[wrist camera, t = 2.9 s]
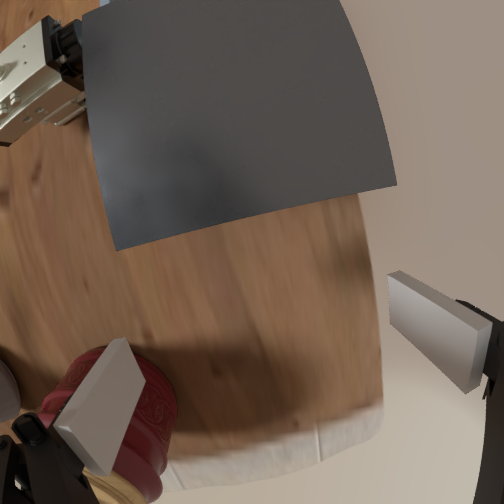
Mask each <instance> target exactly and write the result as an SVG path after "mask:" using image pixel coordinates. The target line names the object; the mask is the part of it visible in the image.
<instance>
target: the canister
mask: <svg viewBox="0 0 504 504" xmlns="http://www.w3.org/2000/svg"><path fill="white" fill-rule="evenodd" d="M106 348H107V347H99V348H94V349H91V350H89V351H87V352H86V353H84V354H82V355H81V356H79V357H78V358H77V359H76V360H75V361H74V362H73V363H72V364H71V366H70V367H69V369H68V371H67V373H66V375H65V376H64V377H63V378H62V380H61V381H60V382H59V383H58V385H57V386H56V387H55V389H54V390H53V391H52V392H50V393H49V394H48V395H47V396H46V397H45V398H44V400H43V402H42V405H41V413H37V416H38V417H39V419H40V420H41V421H42V423H43V424H44V426H45V427H46V428H48V427H49V425H50V423H51V422H52V420H53V419H54V417H55V416H56V414H57V413H58V412H60V411H59V410H60V409H61V407H62V406H64V405H63V404H64V403H65V401H66V400H67V398H68V397H69V396H70V395H71V394H73V393H74V392H75V391H76V390H77V389H78V387H79V386H80V384H81V383H82V381H83V380H84V378H85V377H86V376H87V374H88V373H89V371H90V370H91V369H92V367H93V366H94V364H95V363H96V362H97V360H98V359H99V357H100V356H101V355H102V353H103V352H104V351H105V349H106ZM133 355H134V357H135V360H136V362H137V364H138V366H139V368H140V370H141V372H142V375H143V377H144V379H145V381H146V382H145V385H144V387H143V389H142V392H141V394H140V397H139V399H138V402H137V404H136V407H135V409H134V412H133V414H132V417H131V419H130V422H129V424H128V427H127V430H126V432H125V435H124V438H123V440H122V443H121V445H120V448H119V451H118V454H117V456H116V459H115V462H114V464H113V467H112V470H111V473H110V476H109V477H105V476H96V475H93V474H92V473H91V472H90V471H89V470H88V469H87V468H86V467H84V469H83V471H82V472H83V474H84V475H85V476H86V477H87V479H88V481H89V483H90V485H91V487H92V489H93V491H94V493H95V495H96V497H97V499H98V501H99V503H100V504H150V503H152V502H154V501H156V500H157V499H158V498H159V497H160V495H161V494H162V490H163V486H162V482H161V479H160V477H159V476H160V475H161V474H162V473H163V472H164V471H165V469H166V467H167V462H168V458H167V453H168V448H169V444H170V439H171V434H172V431H173V429H174V427H175V424H176V419H177V402H176V396H175V393H174V390H173V388H172V386H171V384H170V383H169V381H168V380H167V378H166V377H165V376H164V375H163V374H162V373H161V372H160V371H159V370H158V369H157V368H156V367H155V366H154V365H153V364H151V363H150V362H148V361H147V360H145V359H144V358H142V357H140V356H138V355H136V354H134V353H133Z"/></svg>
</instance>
